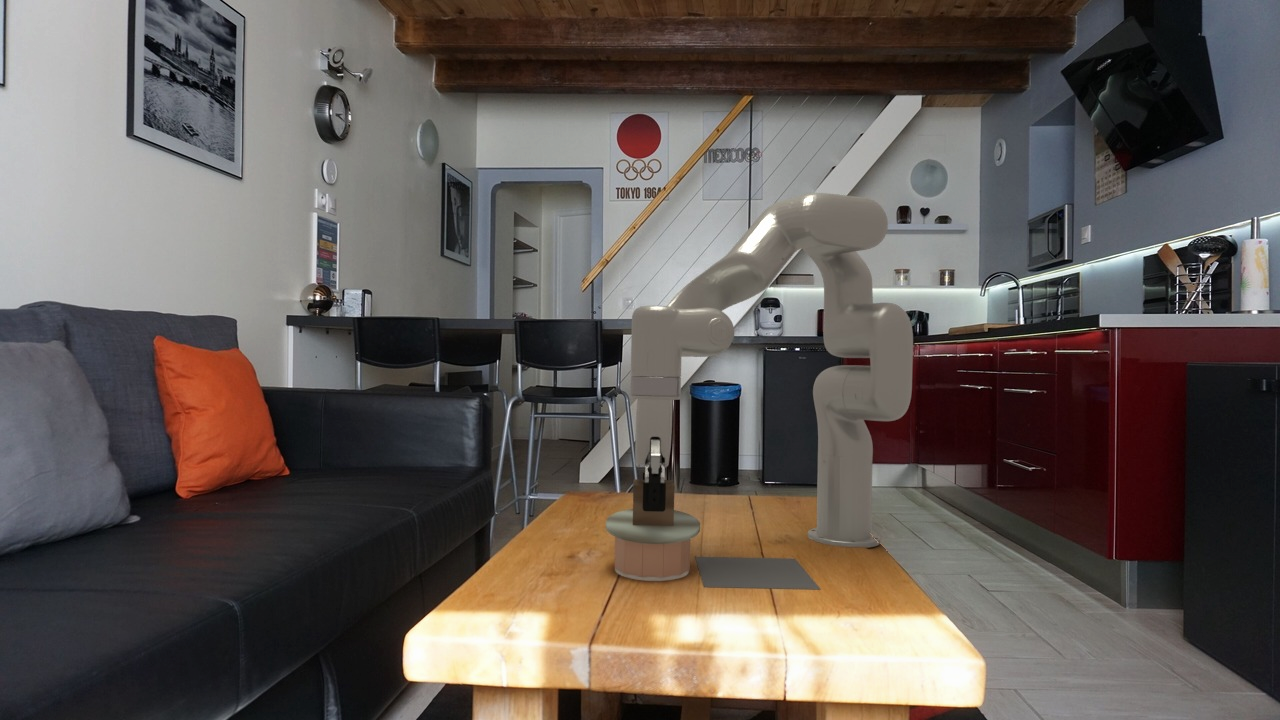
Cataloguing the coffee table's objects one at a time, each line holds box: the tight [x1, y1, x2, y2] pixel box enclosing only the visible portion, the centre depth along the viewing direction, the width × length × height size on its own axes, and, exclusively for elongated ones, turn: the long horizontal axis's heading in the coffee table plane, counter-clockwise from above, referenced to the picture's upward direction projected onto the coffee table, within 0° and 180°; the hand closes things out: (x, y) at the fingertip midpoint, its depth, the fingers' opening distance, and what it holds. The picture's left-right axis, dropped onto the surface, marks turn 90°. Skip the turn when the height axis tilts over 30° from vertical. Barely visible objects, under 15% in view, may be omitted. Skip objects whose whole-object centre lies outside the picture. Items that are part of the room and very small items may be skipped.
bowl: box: [614, 536, 691, 582], centre depth 105 cm, size 11×11×6 cm
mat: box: [694, 556, 822, 591], centre depth 105 cm, size 16×16×1 cm
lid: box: [605, 478, 701, 544], centre depth 105 cm, size 14×14×7 cm
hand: (653, 504), depth 105 cm, fingers open, 9 cm apart
